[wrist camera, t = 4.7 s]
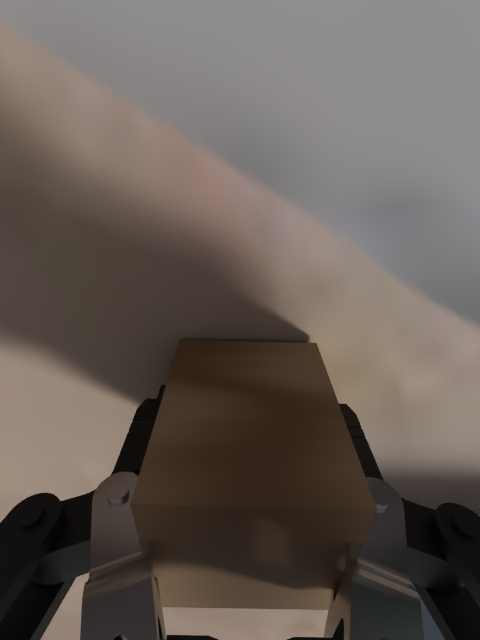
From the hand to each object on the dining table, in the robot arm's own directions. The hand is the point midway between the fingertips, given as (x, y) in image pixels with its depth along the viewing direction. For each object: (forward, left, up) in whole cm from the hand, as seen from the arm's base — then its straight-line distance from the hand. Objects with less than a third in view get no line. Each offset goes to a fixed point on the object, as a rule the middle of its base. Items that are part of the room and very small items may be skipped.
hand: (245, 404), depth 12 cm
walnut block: (0, 0, -1) cm, 1 cm away
